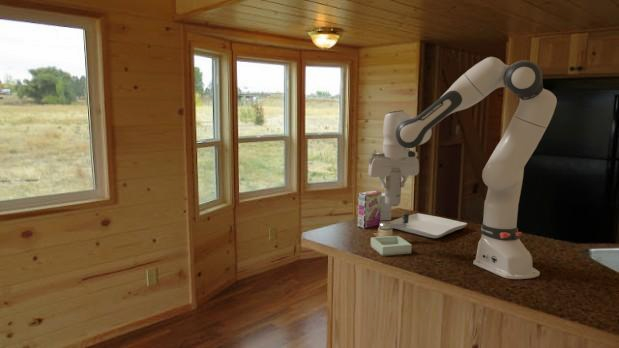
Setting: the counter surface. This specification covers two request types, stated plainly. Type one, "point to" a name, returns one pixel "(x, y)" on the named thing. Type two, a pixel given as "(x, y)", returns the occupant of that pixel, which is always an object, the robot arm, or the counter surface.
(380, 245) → the tray
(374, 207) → the candy bar box
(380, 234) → the crank pedestal
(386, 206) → the supplement box
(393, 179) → the energy drink can
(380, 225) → the crank lever
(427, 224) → the square plate
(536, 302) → the counter surface
